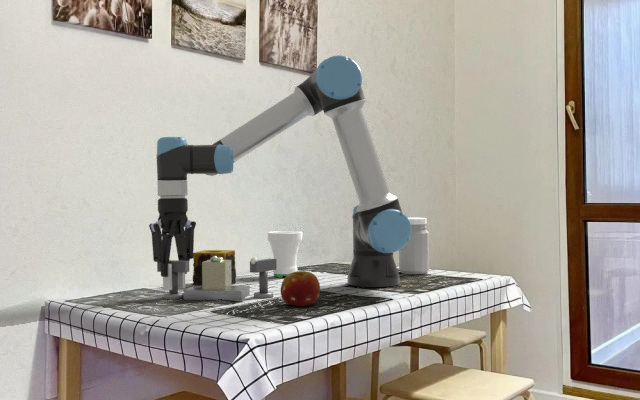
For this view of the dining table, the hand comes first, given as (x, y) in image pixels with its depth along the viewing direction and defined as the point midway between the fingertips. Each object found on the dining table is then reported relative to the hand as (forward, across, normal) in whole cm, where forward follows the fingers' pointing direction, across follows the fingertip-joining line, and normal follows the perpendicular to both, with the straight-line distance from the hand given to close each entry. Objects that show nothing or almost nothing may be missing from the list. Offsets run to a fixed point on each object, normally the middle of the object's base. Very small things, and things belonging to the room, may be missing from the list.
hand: (174, 288), depth 174 cm
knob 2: (+3, -15, +18) cm, 23 cm away
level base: (+3, -8, +8) cm, 11 cm away
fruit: (+3, -12, +33) cm, 35 cm away
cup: (+3, -48, -6) cm, 49 cm away
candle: (+3, -22, -10) cm, 24 cm away
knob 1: (+2, 0, 0) cm, 2 cm away
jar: (+3, -80, +22) cm, 83 cm away
